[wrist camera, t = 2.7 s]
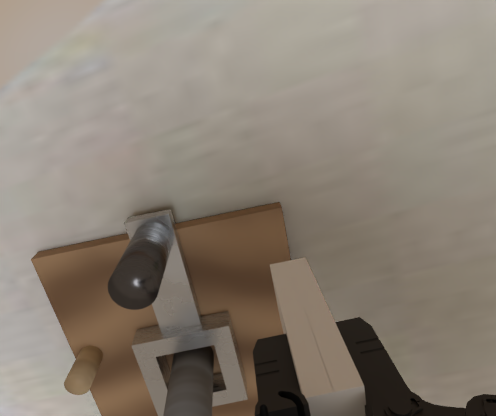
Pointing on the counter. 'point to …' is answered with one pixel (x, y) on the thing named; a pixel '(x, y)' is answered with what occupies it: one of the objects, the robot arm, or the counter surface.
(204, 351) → the board
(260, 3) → the counter surface
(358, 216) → the counter surface
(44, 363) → the counter surface
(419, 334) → the counter surface
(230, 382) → the square frame with handle
